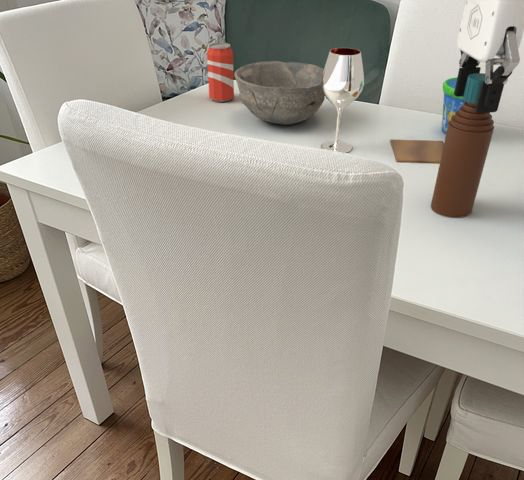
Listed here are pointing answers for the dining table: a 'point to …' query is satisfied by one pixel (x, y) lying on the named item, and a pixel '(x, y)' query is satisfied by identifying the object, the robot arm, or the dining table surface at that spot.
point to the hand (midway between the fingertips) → (474, 102)
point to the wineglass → (342, 87)
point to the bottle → (462, 162)
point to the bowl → (281, 90)
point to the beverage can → (220, 72)
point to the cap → (473, 87)
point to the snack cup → (450, 102)
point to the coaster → (417, 150)
